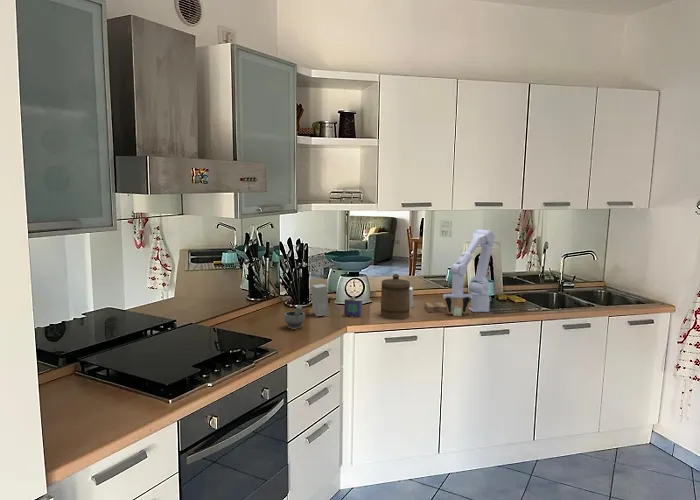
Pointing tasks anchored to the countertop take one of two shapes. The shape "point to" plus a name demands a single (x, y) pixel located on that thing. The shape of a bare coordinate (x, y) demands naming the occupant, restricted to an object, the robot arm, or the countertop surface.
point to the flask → (353, 307)
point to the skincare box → (320, 300)
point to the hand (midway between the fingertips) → (456, 311)
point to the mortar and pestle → (295, 317)
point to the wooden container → (395, 298)
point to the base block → (435, 307)
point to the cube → (456, 311)
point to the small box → (411, 297)
